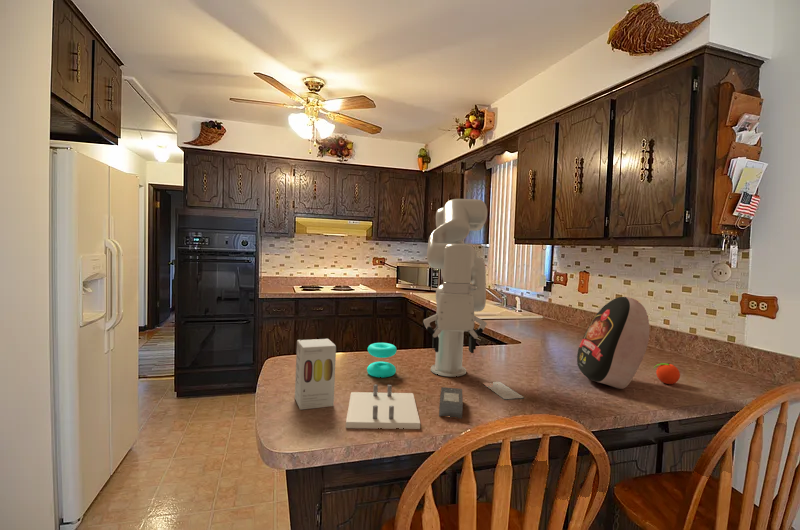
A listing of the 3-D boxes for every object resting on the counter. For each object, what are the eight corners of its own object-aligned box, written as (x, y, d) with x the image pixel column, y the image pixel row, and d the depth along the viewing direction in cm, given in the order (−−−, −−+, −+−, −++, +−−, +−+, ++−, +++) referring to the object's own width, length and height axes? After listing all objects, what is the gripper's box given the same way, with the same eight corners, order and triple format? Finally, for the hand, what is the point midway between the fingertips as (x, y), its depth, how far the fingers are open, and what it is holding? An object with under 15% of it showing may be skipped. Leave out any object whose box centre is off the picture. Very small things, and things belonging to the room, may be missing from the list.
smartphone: (504, 399, 121) (481, 382, 136) (504, 401, 121) (480, 384, 136) (525, 397, 123) (499, 381, 138) (525, 399, 123) (499, 383, 138)
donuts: (371, 349, 135) (364, 342, 144) (370, 379, 135) (363, 370, 144) (400, 348, 138) (392, 341, 147) (399, 377, 138) (391, 368, 148)
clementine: (654, 384, 141) (656, 364, 141) (650, 378, 148) (651, 359, 147) (681, 388, 138) (683, 367, 138) (676, 382, 145) (677, 362, 144)
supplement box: (299, 410, 108) (301, 347, 107) (293, 398, 117) (295, 339, 116) (335, 406, 112) (336, 345, 111) (327, 394, 120) (328, 337, 120)
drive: (440, 400, 120) (441, 386, 120) (461, 402, 119) (462, 388, 119) (438, 417, 108) (439, 402, 108) (462, 419, 107) (462, 404, 107)
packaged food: (568, 371, 152) (573, 291, 151) (622, 374, 151) (628, 293, 150) (592, 392, 130) (598, 299, 129) (656, 396, 129) (663, 301, 128)
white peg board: (350, 397, 119) (351, 381, 119) (412, 398, 120) (413, 383, 120) (345, 428, 99) (346, 409, 99) (419, 429, 100) (420, 410, 100)
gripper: (484, 289, 116) (481, 349, 116) (423, 286, 115) (420, 347, 115) (491, 291, 108) (488, 355, 109) (426, 289, 107) (423, 354, 108)
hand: (453, 351), depth 112 cm, fingers open, 9 cm apart
